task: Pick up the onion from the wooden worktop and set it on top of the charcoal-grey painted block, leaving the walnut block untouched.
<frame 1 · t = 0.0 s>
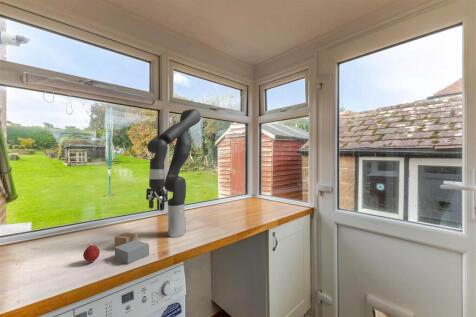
hand: (156, 209, 115), 17 cm above the worktop, tool pointing down, fingers open, 8 cm apart
walnut block: (126, 247, 110), on the worktop
onion: (91, 262, 94), on the worktop
grey block: (132, 256, 99), on the worktop
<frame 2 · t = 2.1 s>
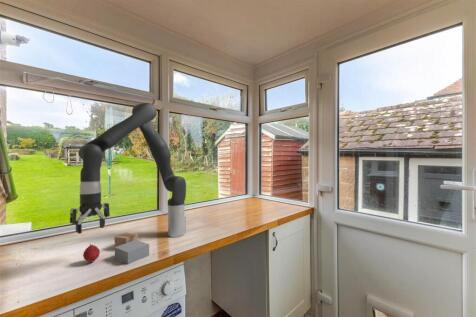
hand: (90, 230, 94), 14 cm above the worktop, tool pointing down, fingers open, 8 cm apart
nothing on the worktop moved.
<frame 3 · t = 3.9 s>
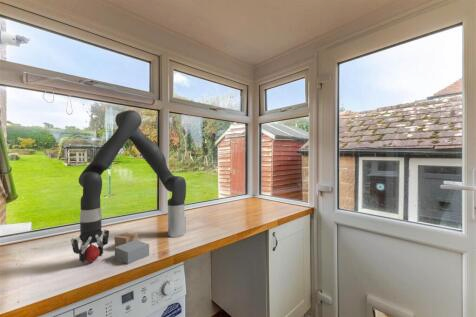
hand: (91, 258, 94), 2 cm above the worktop, tool pointing down, fingers closed on onion, 6 cm apart
onion: (91, 262, 94), on the worktop, touching gripper
everything else where it was.
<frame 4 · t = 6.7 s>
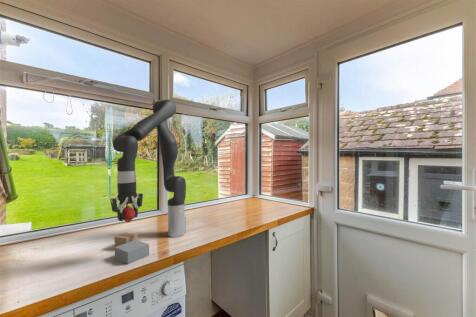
hand: (128, 218, 99), 17 cm above the worktop, tool pointing down, fingers closed on onion, 6 cm apart
onion: (128, 222, 99), point 15 cm above the worktop, touching gripper
everything else where it was.
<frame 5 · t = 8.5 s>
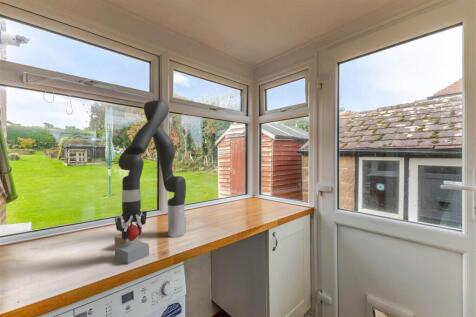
hand: (131, 237, 99), 9 cm above the worktop, tool pointing down, fingers closed on onion, 6 cm apart
onion: (132, 241, 99), point 7 cm above the worktop, touching gripper
everything else where it was.
when the fingers open (8 cm above the worktop, at t = 9.6 s): onion drops 1 cm, resting on grey block.
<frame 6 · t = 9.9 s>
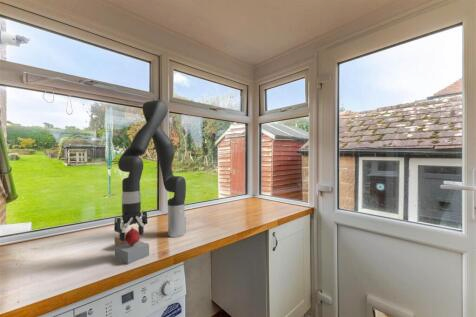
hand: (131, 237, 99), 9 cm above the worktop, tool pointing down, fingers open, 8 cm apart
onion: (131, 245, 99), point 5 cm above the worktop, touching grey block
everything else where it was.
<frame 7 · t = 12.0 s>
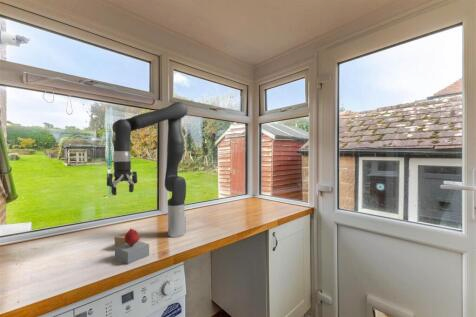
hand: (123, 193, 110), 26 cm above the worktop, tool pointing down, fingers open, 8 cm apart
nothing on the worktop moved.
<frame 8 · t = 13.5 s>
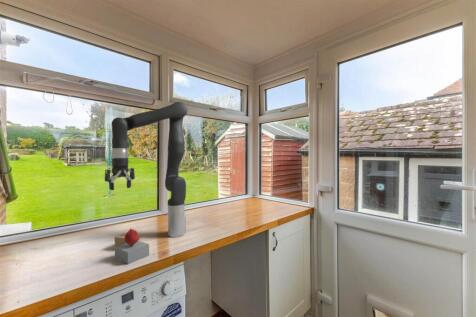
hand: (120, 189, 114), 28 cm above the worktop, tool pointing down, fingers open, 8 cm apart
nothing on the worktop moved.
at the end: onion inside the target area on the grey block (0.1 cm from its centre), point 4.8 cm above the grey block's base; the gripper is holding nothing; walnut block moved 0.2 cm from its start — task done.
